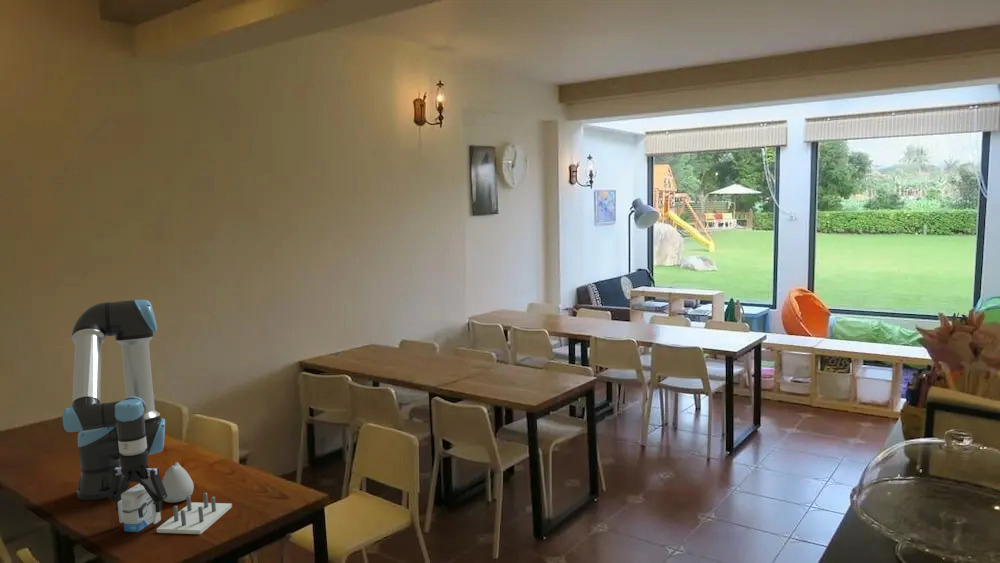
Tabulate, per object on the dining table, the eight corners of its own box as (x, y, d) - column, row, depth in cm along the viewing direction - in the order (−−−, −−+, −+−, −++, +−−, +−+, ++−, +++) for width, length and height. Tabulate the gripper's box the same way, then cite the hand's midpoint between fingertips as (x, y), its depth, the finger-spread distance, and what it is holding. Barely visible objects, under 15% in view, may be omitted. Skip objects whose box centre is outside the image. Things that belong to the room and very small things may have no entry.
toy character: (169, 492, 235) (166, 458, 234) (200, 491, 235) (197, 457, 234) (153, 505, 225) (150, 470, 224) (185, 505, 225) (182, 469, 223)
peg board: (156, 532, 206) (155, 514, 206) (191, 505, 224) (189, 489, 223) (200, 534, 204) (199, 515, 204) (231, 507, 222) (230, 490, 221)
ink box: (137, 532, 207) (134, 495, 205) (123, 531, 208) (119, 494, 206) (157, 519, 215) (153, 483, 214) (143, 518, 216) (139, 482, 215)
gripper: (89, 455, 206) (97, 525, 209) (161, 456, 203) (167, 528, 206) (107, 446, 214) (114, 514, 216) (176, 447, 211) (182, 516, 213)
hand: (140, 521), depth 211 cm, fingers open, 10 cm apart
